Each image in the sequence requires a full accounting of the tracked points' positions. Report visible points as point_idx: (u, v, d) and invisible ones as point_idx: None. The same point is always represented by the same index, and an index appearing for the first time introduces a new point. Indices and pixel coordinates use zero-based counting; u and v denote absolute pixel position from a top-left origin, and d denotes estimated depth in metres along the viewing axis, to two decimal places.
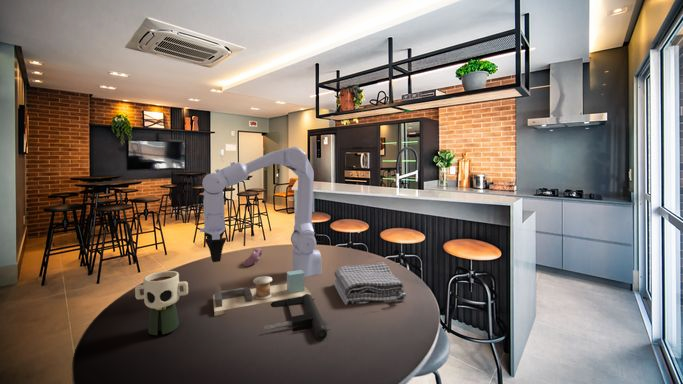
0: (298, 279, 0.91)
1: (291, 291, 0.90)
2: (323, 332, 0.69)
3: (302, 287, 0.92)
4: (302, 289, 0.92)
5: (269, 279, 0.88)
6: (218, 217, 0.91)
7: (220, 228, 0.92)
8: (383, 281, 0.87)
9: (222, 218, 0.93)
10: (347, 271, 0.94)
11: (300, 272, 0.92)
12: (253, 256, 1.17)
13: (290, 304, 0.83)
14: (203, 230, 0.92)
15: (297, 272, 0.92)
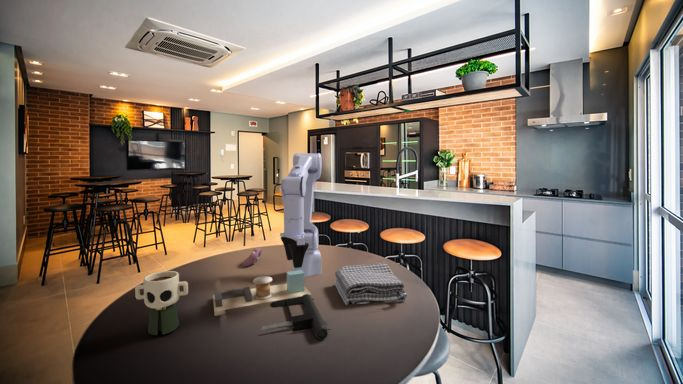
0: (298, 279, 0.91)
1: (291, 291, 0.90)
2: (324, 332, 0.69)
3: (302, 287, 0.92)
4: (302, 289, 0.92)
5: (269, 279, 0.88)
6: (299, 221, 0.89)
7: (301, 233, 0.89)
8: (384, 281, 0.87)
9: (302, 222, 0.90)
10: (348, 271, 0.94)
11: (300, 272, 0.92)
12: (252, 256, 1.17)
13: (290, 304, 0.83)
14: (284, 235, 0.89)
15: (297, 272, 0.92)
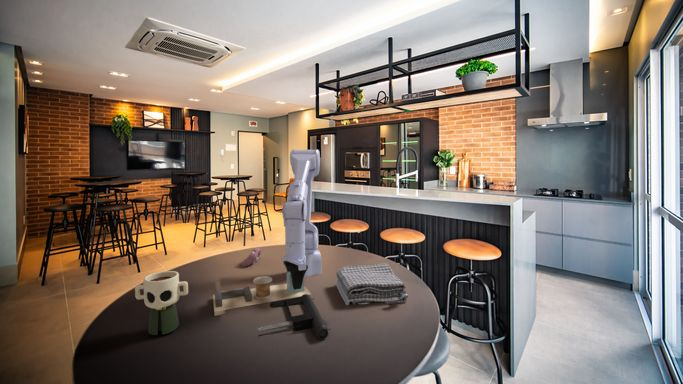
0: None
1: (291, 291, 0.90)
2: (324, 331, 0.69)
3: (302, 287, 0.92)
4: (302, 289, 0.92)
5: (269, 279, 0.88)
6: (301, 246, 0.89)
7: (302, 257, 0.90)
8: (385, 282, 0.86)
9: (304, 246, 0.90)
10: (349, 272, 0.93)
11: None
12: (252, 256, 1.17)
13: (289, 304, 0.83)
14: (285, 259, 0.89)
15: None
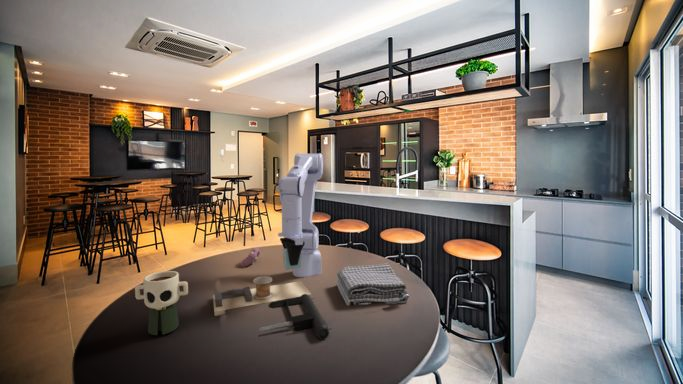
0: None
1: (288, 268, 0.90)
2: (325, 331, 0.69)
3: (299, 264, 0.91)
4: (299, 266, 0.91)
5: (269, 279, 0.88)
6: (297, 221, 0.89)
7: (299, 233, 0.89)
8: (386, 282, 0.86)
9: (300, 222, 0.90)
10: (350, 272, 0.93)
11: None
12: (251, 256, 1.17)
13: (289, 304, 0.83)
14: (282, 235, 0.89)
15: None
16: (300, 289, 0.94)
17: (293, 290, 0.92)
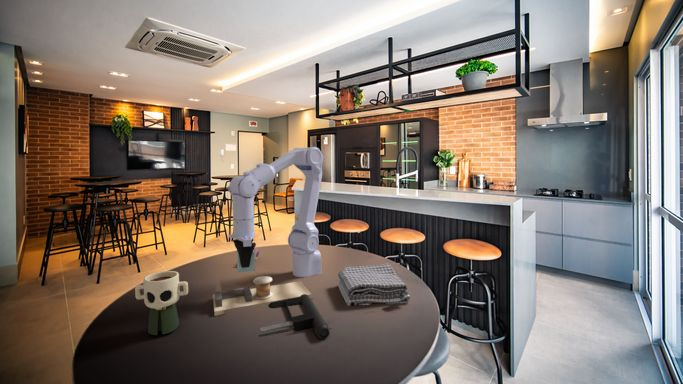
0: None
1: (240, 270, 0.88)
2: (325, 331, 0.69)
3: (252, 266, 0.89)
4: (252, 268, 0.89)
5: (269, 279, 0.88)
6: (248, 222, 0.87)
7: (250, 234, 0.87)
8: (387, 282, 0.86)
9: (252, 223, 0.88)
10: (351, 272, 0.93)
11: None
12: None
13: (288, 304, 0.82)
14: (232, 236, 0.87)
15: None
16: (300, 289, 0.94)
17: (293, 290, 0.92)
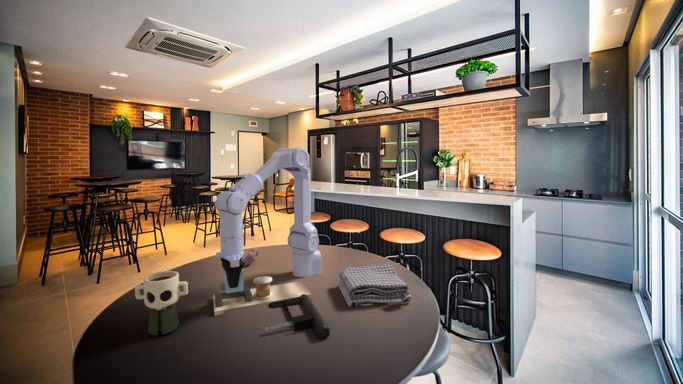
0: None
1: (228, 291, 0.83)
2: (326, 331, 0.69)
3: (241, 286, 0.84)
4: (241, 288, 0.84)
5: (269, 279, 0.88)
6: (236, 240, 0.82)
7: (238, 252, 0.82)
8: (388, 283, 0.86)
9: (241, 241, 0.83)
10: (352, 272, 0.93)
11: None
12: (249, 256, 1.17)
13: (288, 305, 0.82)
14: (219, 255, 0.82)
15: None
16: (300, 289, 0.94)
17: (293, 290, 0.92)
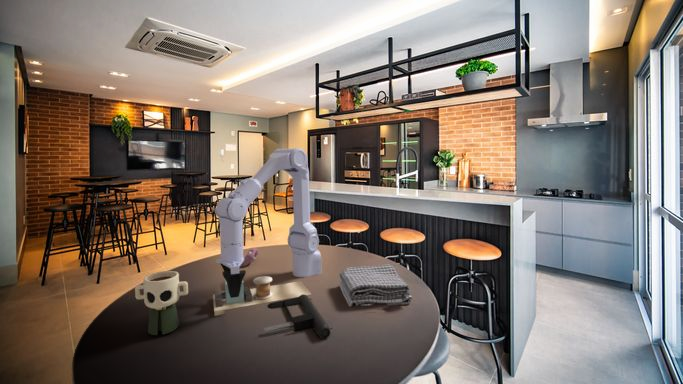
0: None
1: (229, 302, 0.83)
2: (326, 331, 0.69)
3: (241, 297, 0.85)
4: (241, 299, 0.85)
5: (269, 279, 0.88)
6: (237, 247, 0.82)
7: (239, 259, 0.82)
8: (389, 283, 0.86)
9: (241, 248, 0.83)
10: (352, 272, 0.93)
11: None
12: (249, 256, 1.17)
13: (288, 305, 0.82)
14: (220, 261, 0.82)
15: None
16: (300, 289, 0.94)
17: (293, 290, 0.92)
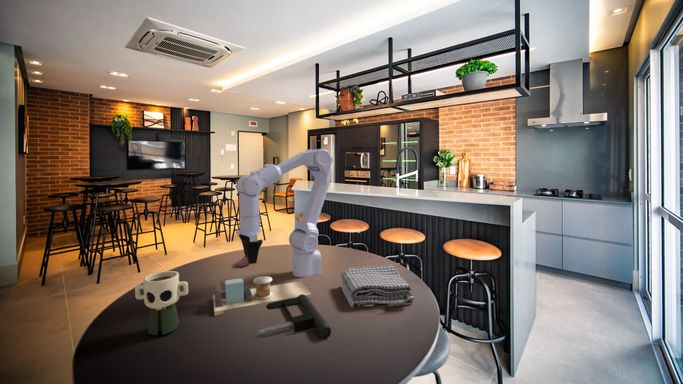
0: (236, 289, 0.84)
1: (229, 302, 0.83)
2: (327, 330, 0.69)
3: (241, 297, 0.85)
4: (241, 299, 0.85)
5: (269, 279, 0.88)
6: (254, 219, 0.92)
7: (256, 230, 0.93)
8: (390, 283, 0.85)
9: (258, 220, 0.93)
10: (354, 273, 0.92)
11: (239, 281, 0.85)
12: None
13: (287, 305, 0.82)
14: (239, 232, 0.92)
15: (236, 281, 0.85)
16: (300, 289, 0.94)
17: (293, 290, 0.92)
